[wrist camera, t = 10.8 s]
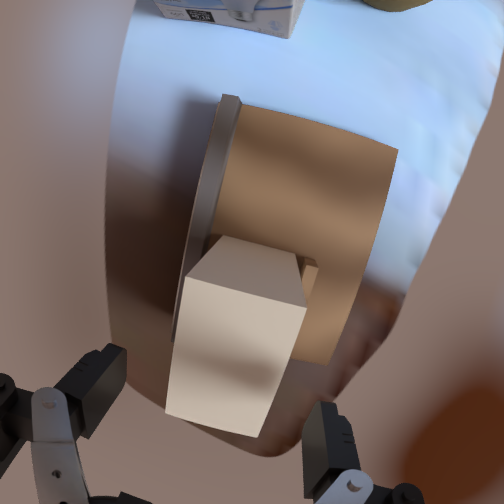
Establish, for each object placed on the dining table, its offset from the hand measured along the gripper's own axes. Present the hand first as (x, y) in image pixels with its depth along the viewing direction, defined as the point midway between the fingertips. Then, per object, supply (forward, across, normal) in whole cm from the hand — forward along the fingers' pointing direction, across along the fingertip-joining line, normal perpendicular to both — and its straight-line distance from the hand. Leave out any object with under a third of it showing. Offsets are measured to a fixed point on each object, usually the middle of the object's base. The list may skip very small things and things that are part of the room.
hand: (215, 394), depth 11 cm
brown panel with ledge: (+12, -2, -4) cm, 13 cm away
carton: (+11, 0, 0) cm, 11 cm away
